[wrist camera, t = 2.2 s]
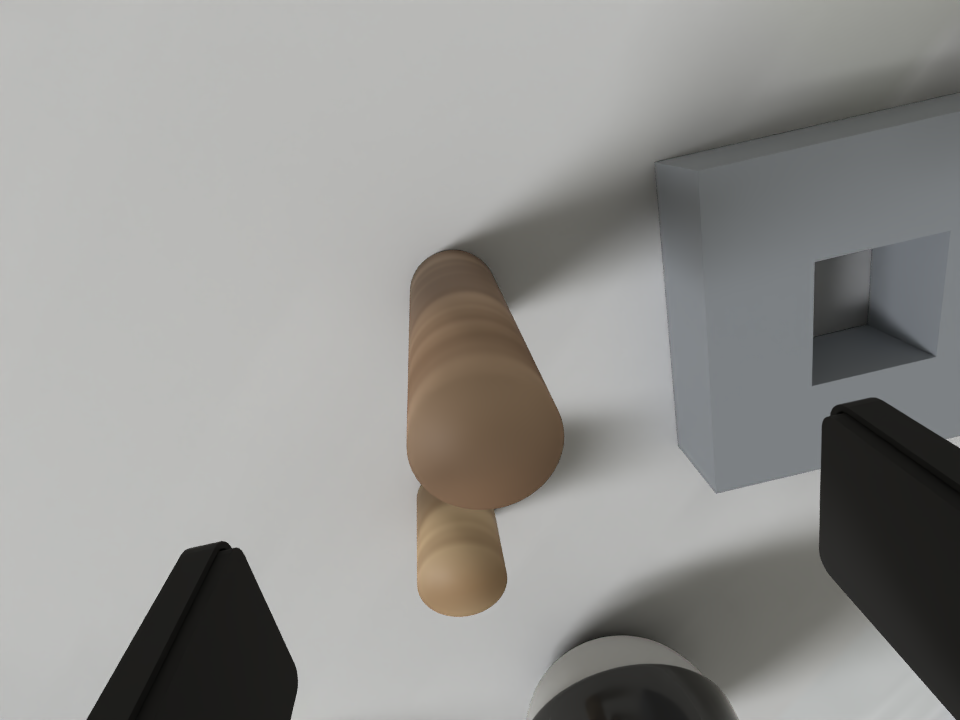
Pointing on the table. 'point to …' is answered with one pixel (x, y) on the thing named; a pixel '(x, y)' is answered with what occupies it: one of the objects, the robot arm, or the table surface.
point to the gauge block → (810, 285)
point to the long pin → (474, 391)
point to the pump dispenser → (626, 685)
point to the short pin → (457, 557)
